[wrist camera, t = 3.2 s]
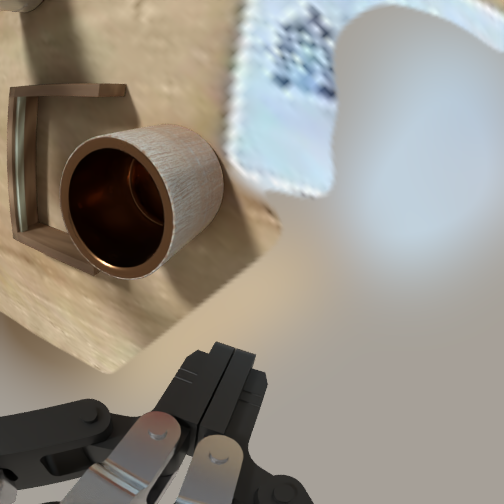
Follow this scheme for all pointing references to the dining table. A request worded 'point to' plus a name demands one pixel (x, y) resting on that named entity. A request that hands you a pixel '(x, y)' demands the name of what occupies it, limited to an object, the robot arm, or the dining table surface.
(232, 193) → the dining table surface
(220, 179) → the planter
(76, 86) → the bay
